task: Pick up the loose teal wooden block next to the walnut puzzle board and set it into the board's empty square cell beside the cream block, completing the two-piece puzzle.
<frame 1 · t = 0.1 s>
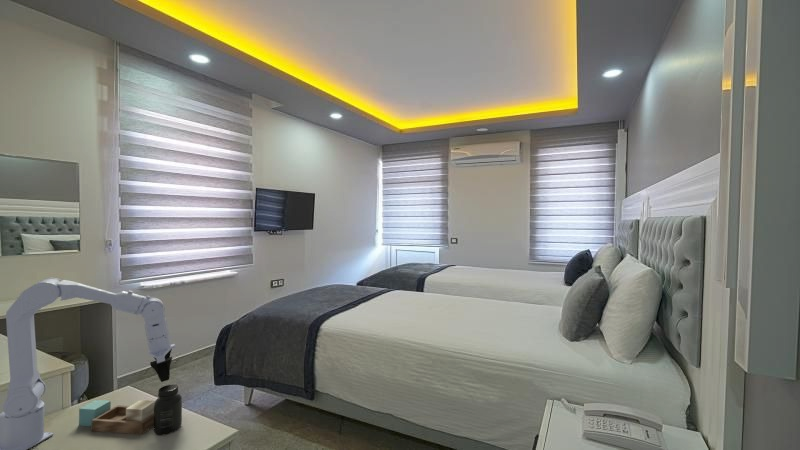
hand: (165, 375, 110), 11 cm above the table, tool pointing down, fingers open, 7 cm apart
supplement bottle: (167, 429, 99), on the table
walnut puzzle board: (129, 424, 101), on the table
teal block: (94, 421, 103), on the table
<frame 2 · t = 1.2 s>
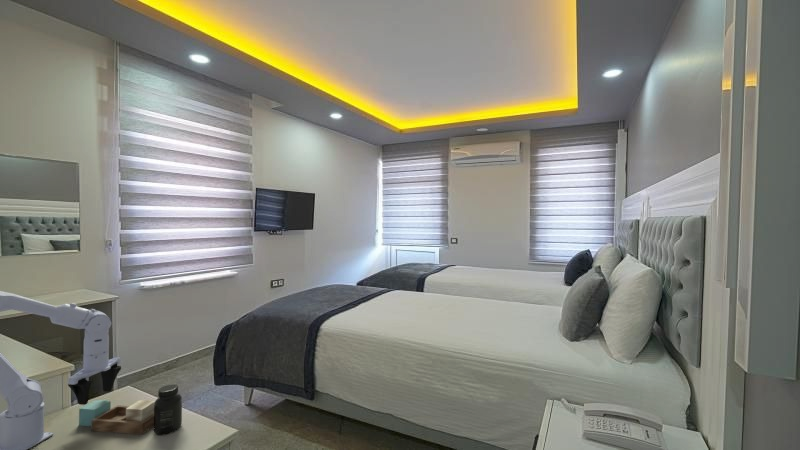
hand: (95, 397, 103), 7 cm above the table, tool pointing down, fingers open, 7 cm apart
nothing on the table moved.
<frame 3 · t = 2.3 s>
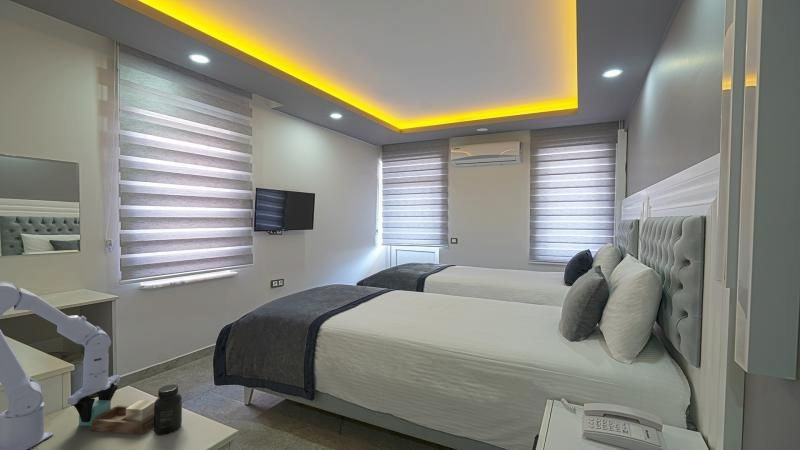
hand: (95, 416, 103), 1 cm above the table, tool pointing down, fingers closed on teal block, 5 cm apart
teal block: (95, 420, 103), on the table, touching gripper
everything else where it was.
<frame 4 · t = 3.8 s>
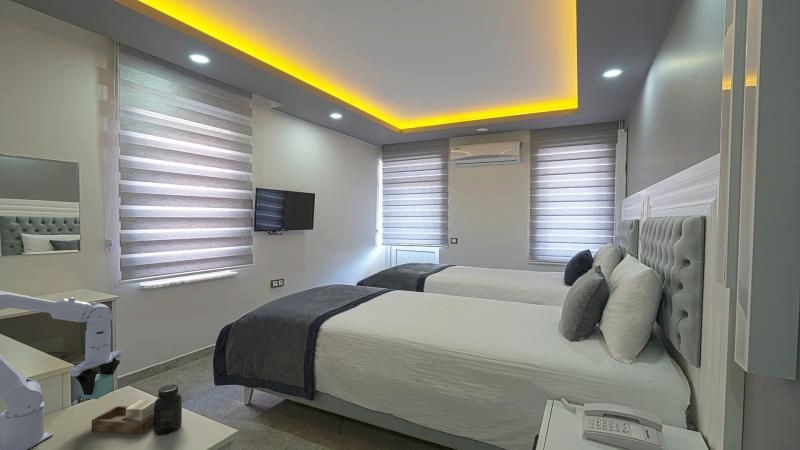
hand: (97, 389, 103), 9 cm above the table, tool pointing down, fingers closed on teal block, 5 cm apart
teal block: (97, 394, 103), point 8 cm above the table, touching gripper
everything else where it was.
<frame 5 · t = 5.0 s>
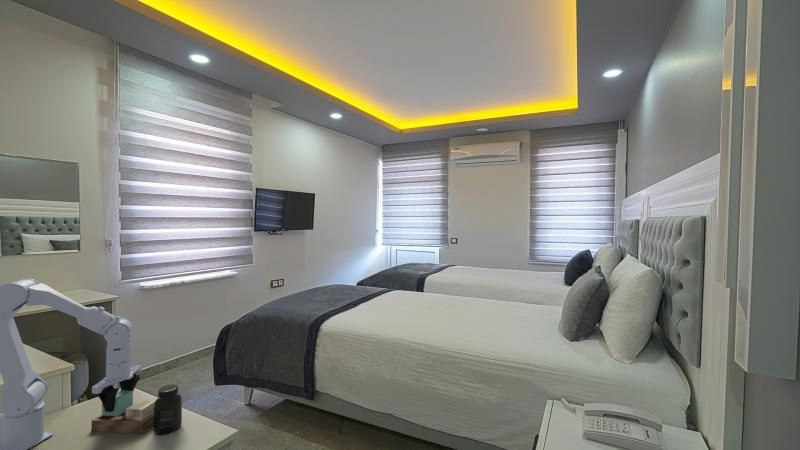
hand: (118, 406, 102), 5 cm above the table, tool pointing down, fingers closed on teal block, 5 cm apart
teal block: (117, 411, 102), point 4 cm above the table, touching gripper
everything else where it was.
when the fingers open (4 cm above the table, at t = 5.7 s): teal block drops 2 cm, resting on walnut puzzle board.
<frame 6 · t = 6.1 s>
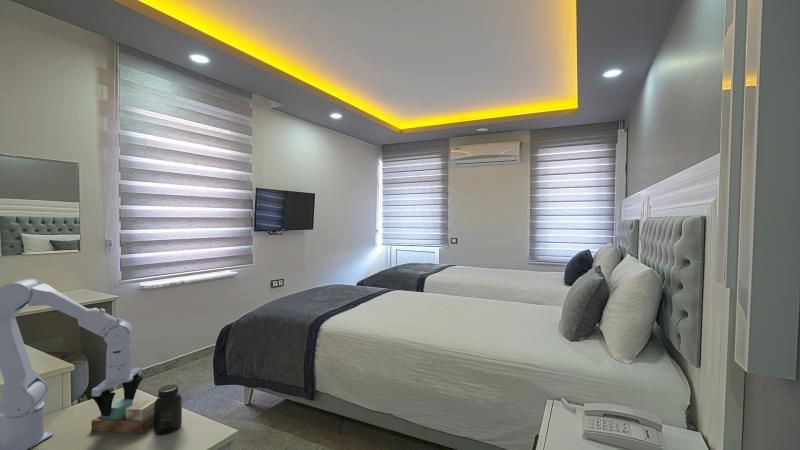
hand: (117, 408, 102), 4 cm above the table, tool pointing down, fingers open, 7 cm apart
teal block: (117, 420, 101), point 1 cm above the table, touching walnut puzzle board
everything else where it was.
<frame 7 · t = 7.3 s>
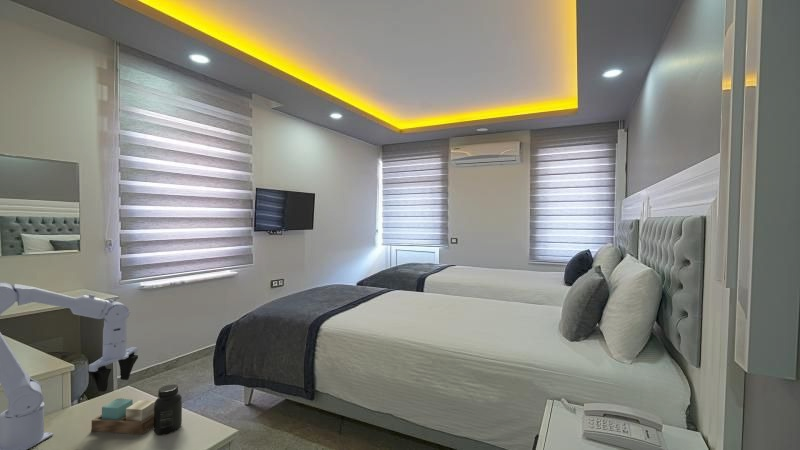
hand: (114, 385, 106), 9 cm above the table, tool pointing down, fingers open, 7 cm apart
nothing on the table moved.
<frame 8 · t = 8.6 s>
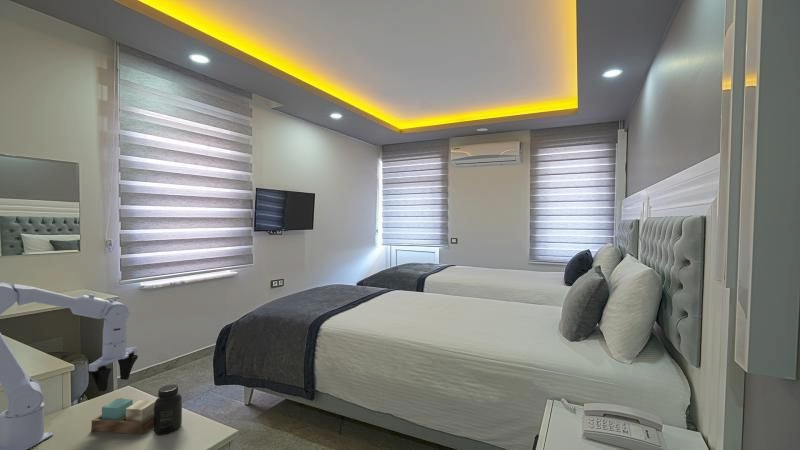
hand: (113, 384, 106), 9 cm above the table, tool pointing down, fingers open, 7 cm apart
nothing on the table moved.
at the end: teal block 0.0 cm from the target spot on the walnut puzzle board, point 1.0 cm above the walnut puzzle board's base; teal block tilted 0°; the gripper is holding nothing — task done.
